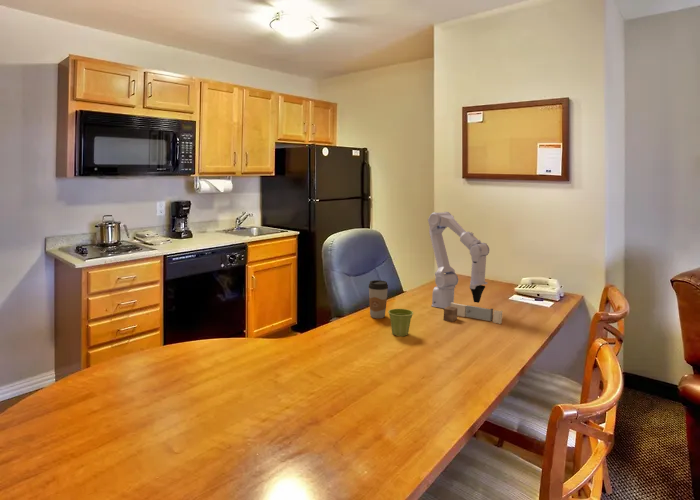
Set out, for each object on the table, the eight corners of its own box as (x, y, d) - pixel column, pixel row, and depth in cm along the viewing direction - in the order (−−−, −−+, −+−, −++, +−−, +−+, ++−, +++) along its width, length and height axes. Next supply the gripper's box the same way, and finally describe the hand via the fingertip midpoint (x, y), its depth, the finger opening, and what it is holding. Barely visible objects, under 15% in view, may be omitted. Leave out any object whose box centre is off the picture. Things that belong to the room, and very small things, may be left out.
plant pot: (385, 329, 172) (386, 308, 171) (409, 329, 173) (410, 308, 171) (389, 338, 163) (390, 315, 161) (415, 338, 164) (415, 315, 162)
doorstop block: (443, 320, 185) (444, 308, 185) (447, 317, 190) (448, 306, 189) (452, 322, 183) (453, 310, 182) (456, 319, 187) (457, 307, 187)
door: (464, 317, 189) (465, 305, 188) (466, 315, 191) (466, 304, 190) (491, 322, 183) (491, 310, 182) (492, 320, 184) (493, 308, 184)
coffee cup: (365, 317, 187) (365, 283, 185) (371, 312, 195) (372, 279, 192) (383, 320, 184) (384, 285, 181) (389, 314, 191) (390, 281, 189)
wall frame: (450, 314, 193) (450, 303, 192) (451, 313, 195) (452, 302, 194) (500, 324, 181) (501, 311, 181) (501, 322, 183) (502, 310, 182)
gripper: (482, 275, 181) (480, 307, 183) (492, 269, 193) (490, 299, 195) (465, 273, 185) (464, 304, 187) (476, 267, 197) (475, 297, 199)
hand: (476, 302), depth 191 cm, fingers closed
